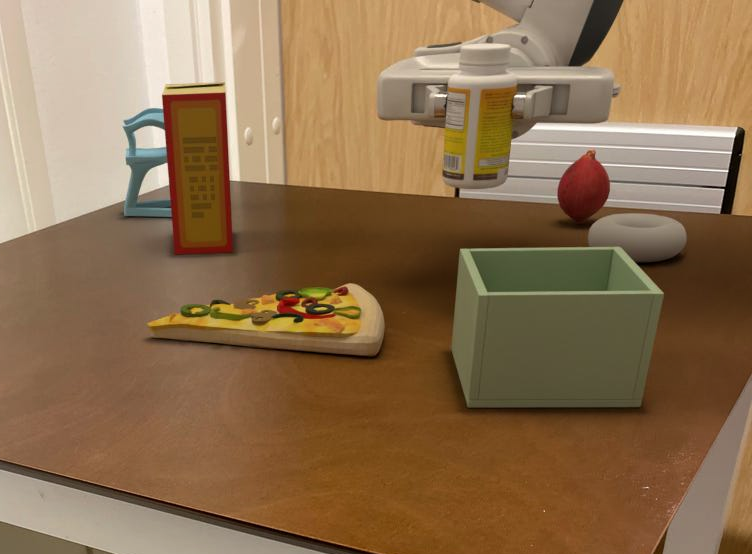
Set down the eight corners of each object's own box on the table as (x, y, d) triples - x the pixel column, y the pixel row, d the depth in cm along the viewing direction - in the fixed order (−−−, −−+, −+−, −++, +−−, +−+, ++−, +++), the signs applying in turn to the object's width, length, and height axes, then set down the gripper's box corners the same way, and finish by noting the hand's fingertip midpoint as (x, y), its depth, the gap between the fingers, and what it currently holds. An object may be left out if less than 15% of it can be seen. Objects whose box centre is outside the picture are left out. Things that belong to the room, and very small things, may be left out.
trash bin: (602, 349, 80) (620, 246, 75) (640, 407, 70) (664, 293, 65) (451, 350, 81) (459, 248, 76) (467, 407, 71) (478, 295, 66)
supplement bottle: (514, 180, 84) (529, 42, 78) (496, 192, 80) (510, 49, 74) (452, 176, 86) (462, 42, 81) (432, 188, 82) (441, 48, 77)
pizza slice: (395, 358, 79) (397, 321, 78) (143, 368, 79) (139, 331, 77) (370, 301, 92) (371, 268, 90) (153, 310, 92) (150, 277, 90)
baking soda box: (233, 252, 108) (225, 88, 99) (174, 254, 108) (161, 90, 99) (231, 231, 116) (224, 78, 107) (177, 234, 116) (165, 80, 106)
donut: (611, 239, 109) (567, 255, 103) (617, 206, 107) (573, 221, 101) (698, 253, 104) (657, 271, 98) (706, 218, 102) (664, 235, 96)
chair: (124, 207, 128) (113, 105, 121) (187, 204, 129) (180, 102, 122) (123, 220, 122) (112, 113, 115) (189, 217, 123) (182, 110, 116)
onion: (554, 229, 113) (565, 153, 109) (551, 217, 118) (561, 144, 113) (606, 229, 112) (619, 153, 108) (601, 218, 117) (613, 144, 112)
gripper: (616, 126, 88) (603, 152, 78) (398, 122, 95) (358, 146, 84) (629, 45, 85) (617, 62, 74) (401, 46, 91) (360, 62, 80)
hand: (478, 106), depth 79 cm, fingers closed on supplement bottle, 5 cm apart
